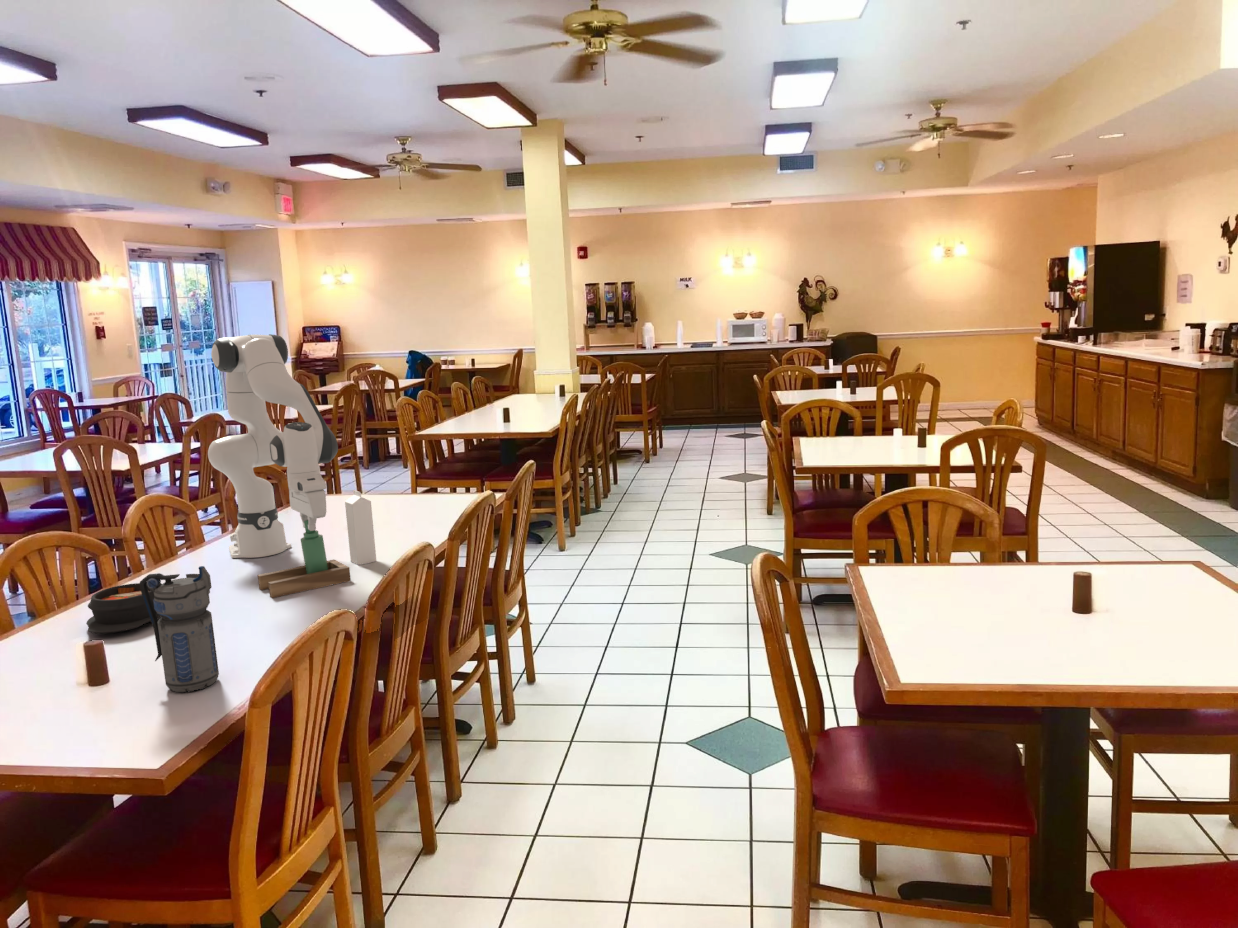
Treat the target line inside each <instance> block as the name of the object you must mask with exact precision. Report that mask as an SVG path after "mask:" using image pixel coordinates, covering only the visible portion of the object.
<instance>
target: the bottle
mask: <svg viewBox="0 0 1238 928" xmlns="http://www.w3.org/2000/svg"><path fill="white" fill-rule="evenodd" d="M304 525H305V528H304V530H305V532H303V537H301V538H300V544H301V549H302V550H301V551H302V556H303V561H304V565H305V568H306V574H311V573H316V572H320V571H325V570H328V564H327V561H328V560H327V554H326V548H325V542H324V537H323V534H319V530H314V531H310V530H308V520H305V521H304Z"/></svg>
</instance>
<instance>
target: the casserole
mask: <svg viewBox="0 0 1238 928" xmlns="http://www.w3.org/2000/svg"><path fill="white" fill-rule="evenodd" d="M148 592H149V595H150V598H151V601H152V604H153V607H154V602H153V600H154V593H153V592H152V591H151V590H150V589H149V588H148ZM87 607H88V609H89V610H90V611H91V612H92V616H91V617H90V618H89V619H88V620H87V621H86V625H87V627H88V630H87V631H88V632H89V633H92V634H108V633H109V634H111V633H119V632H125V631H130V630H135V629H137V628H139V627H142V626H143V624H144V625H146V624H148V623H152V622H151V619H150V616H149V614H148V611H147V608H146V605H145V602H144V599H143V596H142V593H141V587H140V582H136V583H128V584H127V583H126V584H122V585H121V584H120V585H115V586H112V587H109V588H108V587H107V588H105V589H102V590H100V591H99V590H98V592H96V593H94V594H92V596H91V598H90V601H89V603H88V604H87ZM154 610H155V609H154ZM155 613H156V616H157V619H160V618H161V616H160V615H159V614H158V613H157V612H156V610H155Z"/></svg>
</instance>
